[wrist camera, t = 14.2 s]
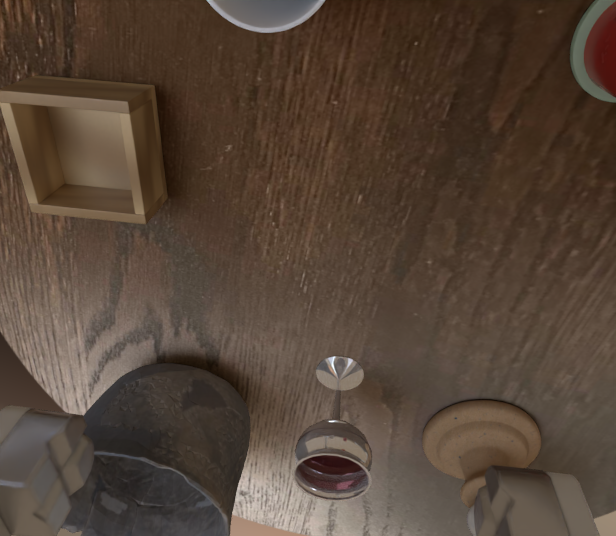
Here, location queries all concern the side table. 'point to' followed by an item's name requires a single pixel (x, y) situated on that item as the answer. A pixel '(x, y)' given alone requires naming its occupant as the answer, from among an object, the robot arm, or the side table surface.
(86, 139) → the holder
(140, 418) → the dark grey metal pot
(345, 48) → the side table surface
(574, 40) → the coaster
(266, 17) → the mug
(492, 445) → the candle holder
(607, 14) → the can
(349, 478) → the wineglass
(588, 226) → the side table surface
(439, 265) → the side table surface
